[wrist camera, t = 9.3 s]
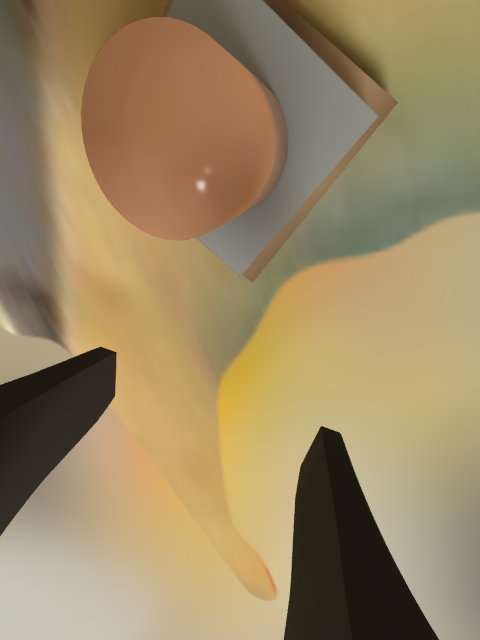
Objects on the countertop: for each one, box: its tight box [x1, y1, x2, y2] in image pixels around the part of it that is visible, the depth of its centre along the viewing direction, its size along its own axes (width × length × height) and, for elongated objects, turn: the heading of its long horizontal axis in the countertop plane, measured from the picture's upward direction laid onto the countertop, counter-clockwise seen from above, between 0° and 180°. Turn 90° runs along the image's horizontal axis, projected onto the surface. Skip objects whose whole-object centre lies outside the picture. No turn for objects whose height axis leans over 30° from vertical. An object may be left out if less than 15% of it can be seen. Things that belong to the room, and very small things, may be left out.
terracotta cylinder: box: [81, 17, 288, 240], centre depth 10 cm, size 5×5×5 cm
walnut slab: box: [163, 0, 398, 282], centre depth 16 cm, size 10×10×2 cm
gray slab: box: [167, 0, 378, 276], centre depth 14 cm, size 8×8×2 cm
